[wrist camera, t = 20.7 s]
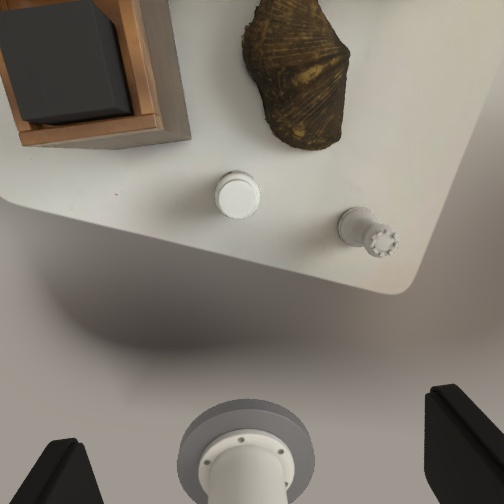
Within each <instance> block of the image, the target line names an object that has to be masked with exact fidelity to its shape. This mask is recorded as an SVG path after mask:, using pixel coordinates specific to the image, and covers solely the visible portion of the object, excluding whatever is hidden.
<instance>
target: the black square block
mask: <svg viewBox="0 0 504 504" xmlns="http://www.w3.org/2000/svg"><path fill="white" fill-rule="evenodd" d="M0 49H1V52H2V56H3V59H4V62H5V65H6V69H7V72H8V75H9V79H10V82H11V85H12V89H13V92H14V95H15V98H16V102H17V105H18V108H19V112H20V115H21V118H22V120H23V121H28V122H34V123H41V124H47V125H53V126H59V125H67V124H74V123H81V122H88V121H96V120H103V119H110V118H117V117H125V116H132V115H134V111H133V106H132V102H131V97H130V92H129V88H128V83H127V78H126V74H125V69H124V64H123V60H122V55H121V50H120V46H119V41H118V37H117V32H116V27H115V25H114V23H113V22H112V21H111V20H110V19H109V18H108V17H107V16H106V15H105V14H104V13H103V12H102V11H101V10H100V9H99V8H98V6H97V5H96V4H95V3H94V2H93V1H92V0H79V1H72V2H65V3H57V4H50V5H43V6H35V7H28V8H21V9H13V10H6V11H0Z"/></svg>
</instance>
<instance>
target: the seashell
mask: <svg viewBox="0 0 504 504" xmlns="http://www.w3.org/2000/svg"><path fill="white" fill-rule="evenodd" d="M244 29H245V32H244V35H243V36H241V37H243V38H244V40H242V48H243V59H244V62H245V64H246V68H247V69H248V71H249V73H250V74H251V76H252V78H253V79H254V81H255V82H256V84H257V86H258V89H259V92H260V95H261V98H262V100H263V106H264V111H265V115H266V118H265V120H267V123H269V124H270V126H271V129H272V131H273V134H274V135H275V136H276V137H278V138H279V139H280V140H281V141H282V142H285V143H287V144H289V145H290V146H292V147H295V148H300V149H306V150H312V151H315V150H322V149H325V148H327V147H329V146H331V145H332V144H333V143H335V142H338V141H339V140H340V138H341V125H342V120H343V109H344V101H345V88H346V80H347V76H346V74H347V70H348V66H349V57H350V51H349V49H348V48H347V47H346V46H345V45H344V44H343V43H342V42H341V41H340V39H339V38H338V36H337V35H336V33H335V31H334V29H333V28H332V27H331V25H330V23H329V21H328V20H327V18H326V17H325V15H324V13H323V12H322V10H321V7H320V5H319V4H318V0H261V2H260V4H259V6H256V10H255V16H254V19H253V21H252V22H251V23H249V27H248V26H247V25H246V26H245V28H244Z"/></svg>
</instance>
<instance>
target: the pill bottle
mask: <svg viewBox="0 0 504 504" xmlns="http://www.w3.org/2000/svg"><path fill="white" fill-rule="evenodd" d="M214 197H215V203H216V206H217V208H218V209H219V210H220V212H221V213H222V214H224V215H225V216H227V217H229V218H232V219H242V218H246V217H248V216H250V215H251V214H252V213H254V212H255V210H256V209H257V207H258V205H259V202H260V190H259V187H258V185H257V183H256V182H255V180H254V179H253V178H252V177H251V176H250V175H249V174H248V173H246V172H243V171H231V172H229V173H227V174H225V175H224V176H223V177H222V178H221V180H220V181H219V183H218V184H217V186H216V189H215V195H214Z"/></svg>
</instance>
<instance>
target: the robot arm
mask: <svg viewBox="0 0 504 504" xmlns="http://www.w3.org/2000/svg"><path fill="white" fill-rule="evenodd" d="M424 446H425V447H424V472H425V476H426V479H427V481H428V484H429V486H430V487H431V489H432V491H433V493H434V494H435V496H436V498H437V499H438V501H439V503H440V504H504V434H503V433H502V432H501V431H500V430H499V429H498V428H497V427H496V426H495V425H494V423H493V422H492V421H491V420H490V419H489V418H488V417H487V416H486V415H485V414H484V413H483V412H482V411H481V410H480V409H479V408H478V407H477V406H476V405H475V404H474V403H473V401H472V400H471V399H470V398H469V397H468V396H467V395H466V394H465V393H464V392H463V391H462V390H461V389H460V388H459V387H458V386H457V385H455V384H448V385H441V386H434V387H432V388H431V389H430V393H427V394H426V395H425V439H424ZM198 476H199V481H200V484H201V486H202V488H203V490H204V491H205V492H206V494H207V495H208V504H288V501H287V494H286V491H287V489H288V488H289V487H290V485H291V483H292V481H293V477H294V461H293V457H292V454H291V451H290V450H289V448H288V447H287V445H286V444H285V443H284V442H283V441H282V440H281V439H279V438H278V437H276V436H275V435H273V434H271V433H268V432H266V431H262V430H257V429H241V430H235V431H231V432H228V433H226V434H223V435H221V436H219V437H218V438H216V439H215V440H213V441H212V442H211V443H210V444H209V445H208V446H207V447H206V449H205V450H204V452H203V454H202V456H201V459H200V463H199V474H198ZM9 504H104V502H103V500H102V497H101V494H100V491H99V488H98V485H97V482H96V479H95V476H94V473H93V471H92V467H91V464H90V461H89V459H88V456H87V453H86V450H85V447H84V445H83V444H82V443H78V441H77V439H75V438H68V439H61V440H54V441H51V442H50V443H49V444H48V445H47V446H46V448H45V449H44V451H43V453H42V454H41V456H40V457H39V459H38V460H37V462H36V463H35V465H34V467H33V468H32V469H31V471H30V472H29V474H28V476H27V477H26V479H25V480H24V482H23V483H22V485H21V486H20V488H19V489H18V491H17V493H16V494H15V495H14V497H13V499H12V500H11V502H10V503H9Z"/></svg>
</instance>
